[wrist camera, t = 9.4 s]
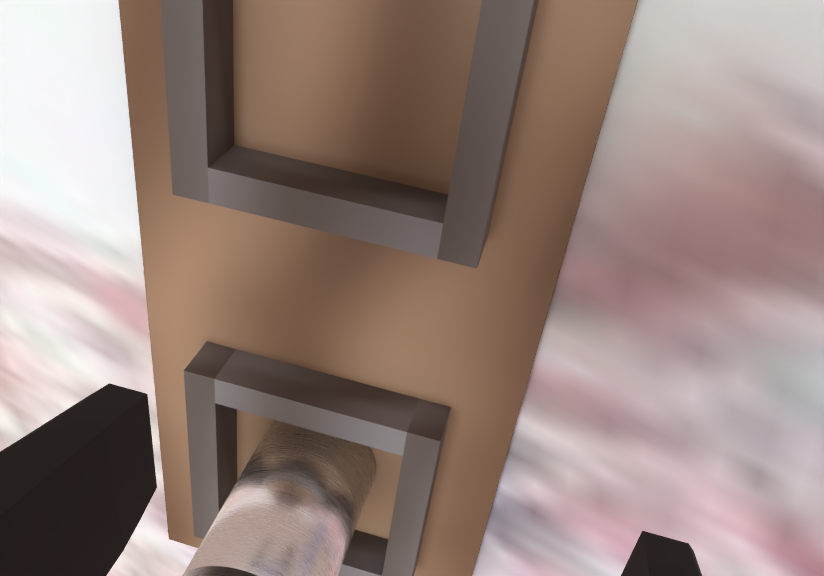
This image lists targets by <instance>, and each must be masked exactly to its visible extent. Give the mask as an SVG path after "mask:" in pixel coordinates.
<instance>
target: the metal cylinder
mask: <svg viewBox="0 0 824 576" xmlns="http://www.w3.org/2000/svg"><path fill="white" fill-rule="evenodd" d="M375 475H376V461H375V457H374V454H373V452H372V450H371V448H370V447H369V446H366V445H362V444H359V443H355V442H351V441H348V440H344V439H341V438H337V437H334V436H330V435H327V434H323V433H319V432H316V431H312V430H309V429H305V428H302V427H298V426H294V425H291V424H287V423H284V422H280V421H277V420H274V421H273V422H272V423H271V424H270V425H269V426H268V428H267V430H266V432H265V433H264V435H263V437H262V439H261V440H260V442H259V444H258V446H257V447H256V449H255V451H254V452H253V454H252V456H251V458H250V459H249V461H248V463H247V465H246V466H245V468H244V470H243V472H242V473H241V475H240V477H239V479H238V480H237V482H236V484H235V486H234V487H233V489H232V491H231V493H230V494H229V496H228V498H227V499H226V501H225V503H224V505H223V506H222V508H221V510H220V512H219V513H218V515H217V517H216V519H215V520H214V522H213V524H212V526H211V527H210V529H209V531H208V533H207V534H206V536H205V538H204V539H203V541H202V543H201V545H200V546H199V548H198V550H197V552H196V553H195V555H194V557H193V559H192V560H191V562H190V564H189V566H188V567H187V569H186V571H185V573H184V574H183V576H338V573H339V571H340V568H341V565H342V563H343V560H344V557H345V555H346V552H347V550H348V547H349V544H350V542H351V539H352V536H353V534H354V531H355V528H356V526H357V523H358V521H359V518H360V515H361V513H362V510H363V507H364V505H365V502H366V499H367V497H368V494H369V491H370V489H371V486H372V484H373V481H374V478H375Z"/></svg>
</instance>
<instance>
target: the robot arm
mask: <svg viewBox="0 0 824 576" xmlns="http://www.w3.org/2000/svg"><path fill="white" fill-rule="evenodd" d="M156 488H157V484H156V475H155V465H154V455H153V445H152V436H151V426H150V416H149V406H148V397H147V394H145V393H142V392H138V391H135V390H131V389H127V388H124V387H120V386H116V385H113V384H108V385H106V386H104V387H103V388H101V389H99V390H98V391H96V392H95V393H93V394H91V395H90V396H88V397H86V398H85V399H83V400H82V401H80V402H78V403H77V404H75V405H74V406H72V407H70V408H69V409H67V410H66V411H64V412H63V413H61V414H59V415H58V416H56V417H55V418H53V419H52V420H50V421H48V422H47V423H45V424H44V425H42V426H41V427H39V428H37V429H36V430H34V431H33V432H31V433H29V434H28V435H26V436H25V437H23V438H22V439H20V440H18V441H17V442H15V443H14V444H12V445H10V446H9V447H7V448H5V449H4V450H2V451H1V452H0V576H106V575H107V574H108V572H109V571H110V569H111V568H112V566H113V565H114V563H115V562H116V560H117V559H118V557H119V556H120V554H121V553H122V552H123V550H124V548H125V546H126V545H127V543H128V541H129V539H130V537H131V535H132V534H133V532H134V530H135V528H136V526H137V525H138V523H139V521H140V519H141V517H142V515H143V513H144V511H145V509H146V507H147V505H148V503H149V502H150V500H151V498H152V496H153V494H154V492H155V490H156ZM621 576H702V574H701V571H700V568H699V565H698V563H697V560H696V557H695V554H694V551H693V550H692V548H691V547H690V545H689V544H688V543H684V542H681V541H677V540H674V539H670V538H666V537H663V536H659V535H655V534H652V533H648V532H645V531H642V533H641V535H640V537H639V539H638V541H637V543H636V545H635V548H634V550H633V552H632V554H631V556H630V558H629V560H628V562H627V564H626V566H625V568H624V570H623V573H622V575H621Z"/></svg>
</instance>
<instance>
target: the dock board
mask: <svg viewBox="0 0 824 576" xmlns="http://www.w3.org/2000/svg"><path fill="white" fill-rule="evenodd" d="M637 1H638V0H119V9H120V20H121V31H122V41H123V52H124V63H125V73H126V84H127V95H128V106H129V116H130V127H131V138H132V148H133V159H134V170H135V180H136V191H137V202H138V213H139V223H140V234H141V245H142V255H143V266H144V277H145V288H146V298H147V309H148V320H149V330H150V341H151V352H152V362H153V373H154V384H155V395H156V405H157V416H158V427H159V437H160V448H161V459H162V470H163V480H164V491H165V502H166V512H167V523H168V534H169V539H171V540H174V541H177V542H180V543H184V544H187V545H190V546H193V547H197V548H199V546H200V545H201V543H202V541H203V539H204V538H205V536H206V534H207V533H208V531H209V529H210V527H211V526H212V524H213V522H214V520H215V519H216V517H217V515H218V513H219V512H220V510H221V508H222V506H223V505H224V503H225V501H226V499H227V498H228V496H229V494H230V493H231V491H232V489H233V487H234V486H235V484H236V482H237V480H238V479H239V477H240V475H241V473H242V472H243V470H244V468H245V466H246V465H247V463H248V461H249V459H250V458H251V456H252V454H253V452H254V451H255V449H256V447H257V446H258V444H259V442H260V440H261V439H262V437H263V435H264V433H265V432H266V430H267V428H268V426H269V425H270V424H271V423H272V422H273V421H274V420H277V421H280V422H284V423H287V424H291V425H294V426H298V427H302V428H305V429H309V430H312V431H316V432H319V433H323V434H327V435H330V436H334V437H337V438H341V439H344V440H348V441H351V442H355V443H359V444H362V445H366V446H369V447H370V448H371V450H372V452H373V454H374V457H375V461H376V475H375V478H374V481H373V484H372V486H371V489H370V491H369V494H368V497H367V499H366V502H365V505H364V507H363V510H362V513H361V515H360V518H359V521H358V523H357V526H356V528H355V531H354V534H353V536H352V539H351V542H350V544H349V547H348V550H347V552H346V555H345V557H344V560H343V563H342V565H341V568H340V571H339V573H338V576H472V573H473V570H474V567H475V563H476V560H477V556H478V553H479V549H480V546H481V542H482V539H483V535H484V532H485V528H486V525H487V521H488V518H489V514H490V511H491V508H492V504H493V501H494V497H495V494H496V490H497V487H498V483H499V480H500V476H501V473H502V469H503V466H504V462H505V459H506V456H507V452H508V449H509V445H510V442H511V438H512V435H513V431H514V428H515V424H516V421H517V417H518V414H519V410H520V407H521V404H522V400H523V397H524V393H525V390H526V386H527V383H528V379H529V376H530V372H531V369H532V365H533V362H534V358H535V355H536V352H537V348H538V345H539V341H540V338H541V334H542V331H543V327H544V324H545V320H546V317H547V313H548V310H549V306H550V303H551V299H552V296H553V293H554V289H555V286H556V282H557V279H558V275H559V272H560V268H561V265H562V261H563V258H564V254H565V251H566V247H567V244H568V241H569V237H570V234H571V230H572V227H573V223H574V220H575V216H576V213H577V209H578V206H579V202H580V199H581V195H582V192H583V189H584V185H585V182H586V178H587V175H588V171H589V168H590V164H591V161H592V157H593V154H594V150H595V147H596V143H597V140H598V137H599V133H600V130H601V126H602V123H603V119H604V116H605V112H606V109H607V105H608V102H609V98H610V95H611V91H612V88H613V85H614V81H615V78H616V74H617V71H618V67H619V64H620V60H621V57H622V53H623V50H624V46H625V43H626V39H627V36H628V32H629V29H630V26H631V22H632V19H633V15H634V12H635V8H636V5H637Z"/></svg>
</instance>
